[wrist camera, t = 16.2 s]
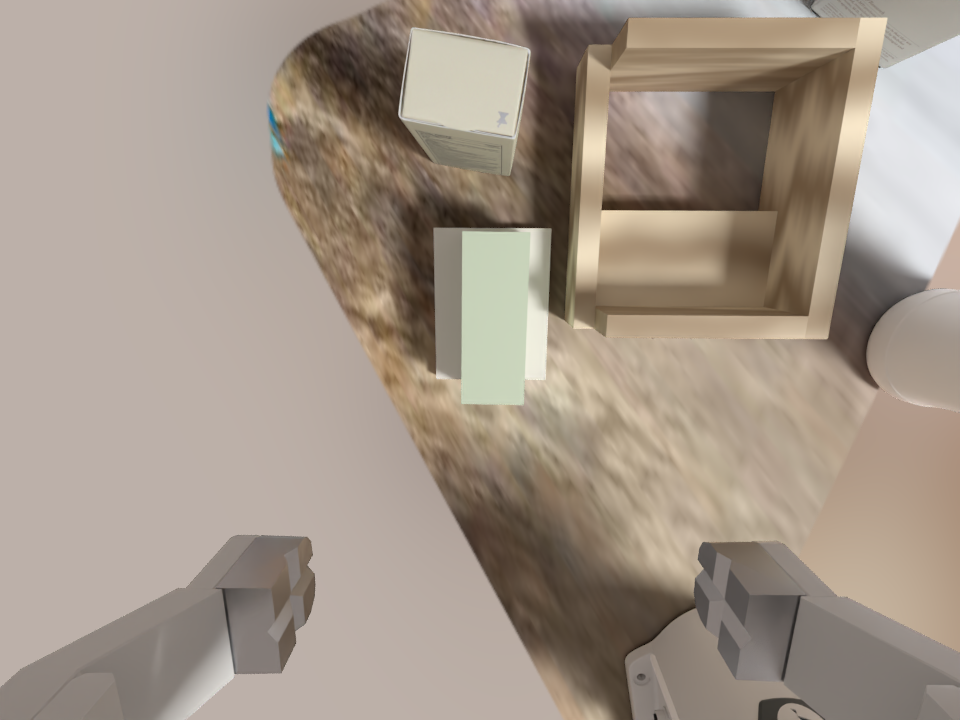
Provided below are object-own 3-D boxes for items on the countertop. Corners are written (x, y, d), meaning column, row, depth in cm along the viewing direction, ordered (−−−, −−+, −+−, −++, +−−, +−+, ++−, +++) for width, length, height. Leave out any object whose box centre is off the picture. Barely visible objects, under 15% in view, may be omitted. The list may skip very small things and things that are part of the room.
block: (518, 385, 38) (523, 405, 33) (464, 384, 38) (461, 403, 33) (524, 234, 35) (530, 232, 30) (465, 233, 35) (462, 231, 30)
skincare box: (521, 117, 34) (539, 46, 22) (510, 178, 35) (522, 142, 23) (435, 100, 34) (408, 20, 22) (426, 162, 35) (396, 118, 23)
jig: (761, 321, 37) (827, 339, 30) (564, 320, 38) (583, 337, 30) (799, 68, 33) (887, 17, 26) (576, 68, 33) (602, 17, 26)
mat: (543, 376, 39) (545, 379, 38) (437, 375, 39) (436, 379, 38) (549, 228, 36) (551, 228, 35) (434, 228, 36) (433, 227, 35)
